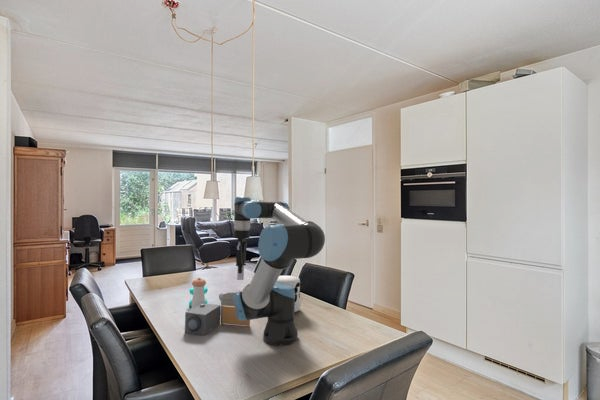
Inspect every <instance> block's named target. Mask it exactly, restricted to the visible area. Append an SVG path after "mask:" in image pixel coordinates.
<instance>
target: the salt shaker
mask: <svg viewBox="0 0 600 400" xmlns="http://www.w3.org/2000/svg"><path fill="white" fill-rule="evenodd" d="M191 284H192V286H193V295H192V297H191V298H192V299H191V300H192V307H191V308H190V310H191V309H192V308H194V307H196V306H198V305H200V304H202V303H205V299H206V298H205V294H204V287H205V286H206V284H207V281H206V280H205V279H203V278H201V277H198V278H195V279H194V280H192V281H191Z"/></svg>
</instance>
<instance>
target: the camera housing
mask: <svg viewBox="0 0 600 400" xmlns="http://www.w3.org/2000/svg"><path fill="white" fill-rule="evenodd" d="M191 308H192V307H191ZM191 308H190V309H188V310H187V311H185V318H184V319H185V320H184V333H187V334H194V335H200V336H202V335H203V336H206V335H207V334H209V333H210V332H211V331H213V330H214V329H215V328H217V327H218V326H219V325H221V304H213V303H207V304H206V303H202V304H200V305H198V306H196V307H194V308H192V309H191Z"/></svg>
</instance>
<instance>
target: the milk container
mask: <svg viewBox="0 0 600 400" xmlns="http://www.w3.org/2000/svg"><path fill="white" fill-rule="evenodd" d="M276 283H277V284H285V285H289V286H291V287H293V288H294V290H295V308H294V314H296V313H298V312H299V311H300V310H301V307H302V299H301V294H300V293H301V291H300V289H301V279H300V278H299V277H298V276H295V275H294V276H293V275H279V277H278V279H277V281H276Z"/></svg>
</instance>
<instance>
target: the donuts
mask: <svg viewBox="0 0 600 400" xmlns="http://www.w3.org/2000/svg"><path fill="white" fill-rule="evenodd" d="M189 293H190V295H192V296H193V287H191V288H190V289H189ZM207 293H208V287H206V286H204V295H206V294H207ZM205 303H206V304H208V300H207V299H206V298H205ZM188 305H189V306H190V307H191V308H192V299H191V300H189V303H188Z"/></svg>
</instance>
